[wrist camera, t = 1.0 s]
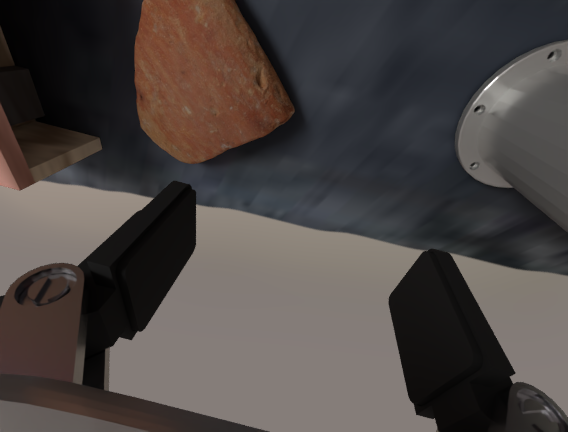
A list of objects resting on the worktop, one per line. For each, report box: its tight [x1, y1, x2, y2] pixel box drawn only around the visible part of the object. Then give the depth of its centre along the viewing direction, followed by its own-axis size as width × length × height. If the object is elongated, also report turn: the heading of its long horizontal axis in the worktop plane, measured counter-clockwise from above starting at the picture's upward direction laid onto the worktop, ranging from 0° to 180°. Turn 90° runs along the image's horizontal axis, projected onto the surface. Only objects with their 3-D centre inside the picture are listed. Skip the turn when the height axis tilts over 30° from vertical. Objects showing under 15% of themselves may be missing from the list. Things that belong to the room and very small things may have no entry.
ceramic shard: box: [134, 0, 295, 164], centre depth 24 cm, size 15×6×15 cm
